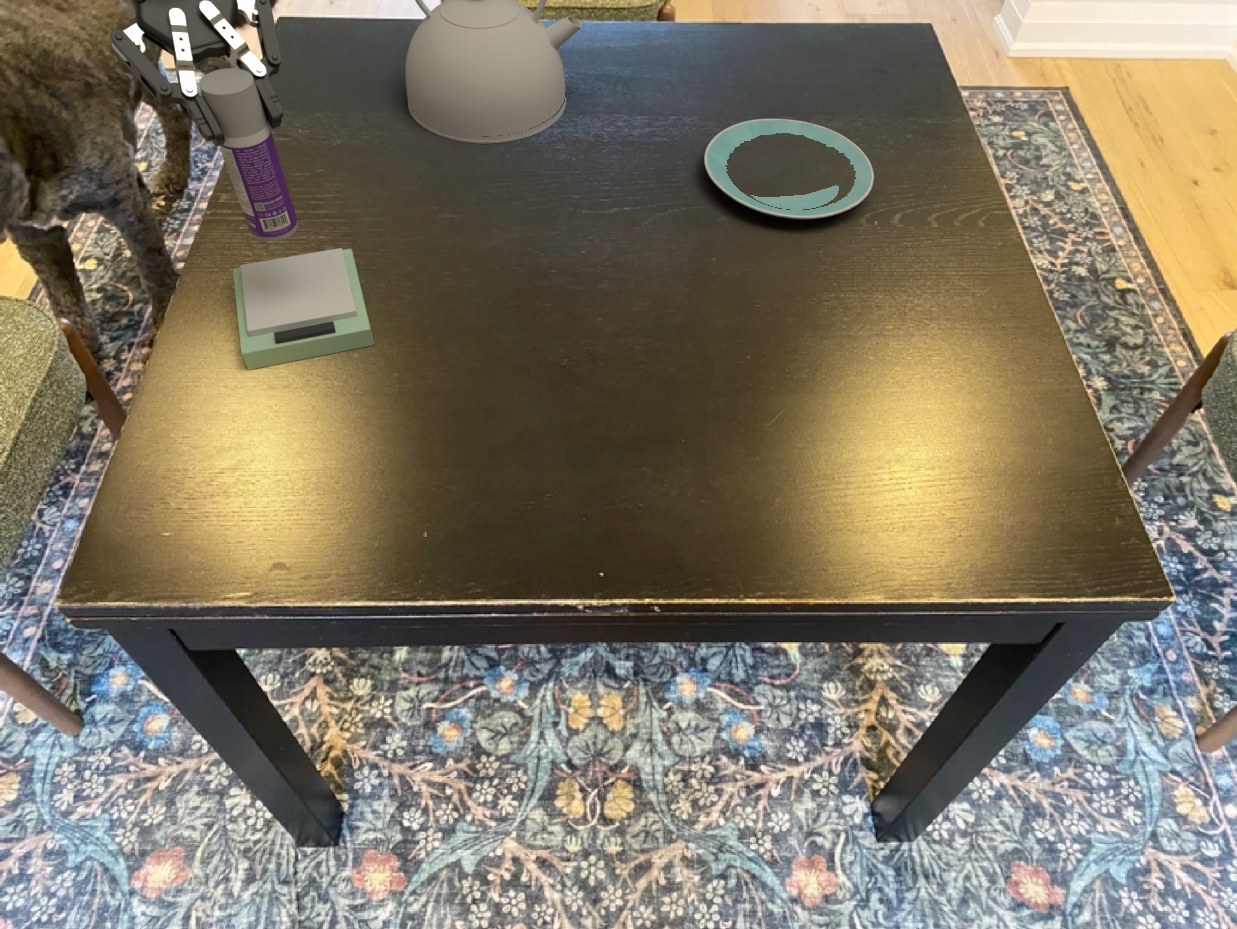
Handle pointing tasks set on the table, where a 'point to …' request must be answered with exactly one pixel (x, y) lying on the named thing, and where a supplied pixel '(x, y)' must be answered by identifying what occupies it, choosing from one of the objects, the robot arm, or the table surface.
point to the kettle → (486, 70)
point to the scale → (300, 308)
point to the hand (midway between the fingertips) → (249, 132)
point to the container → (250, 153)
